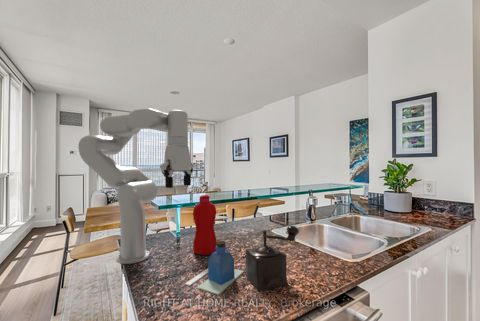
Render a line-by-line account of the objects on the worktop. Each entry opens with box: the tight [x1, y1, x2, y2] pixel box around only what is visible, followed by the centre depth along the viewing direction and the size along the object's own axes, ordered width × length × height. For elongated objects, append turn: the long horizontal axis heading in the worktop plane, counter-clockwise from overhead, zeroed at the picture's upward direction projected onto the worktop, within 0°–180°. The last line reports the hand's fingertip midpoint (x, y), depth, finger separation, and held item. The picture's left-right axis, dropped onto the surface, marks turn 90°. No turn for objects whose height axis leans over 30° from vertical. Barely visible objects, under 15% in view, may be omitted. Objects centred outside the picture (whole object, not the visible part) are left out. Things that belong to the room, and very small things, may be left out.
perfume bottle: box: [207, 240, 235, 285], centre depth 76 cm, size 6×6×12 cm
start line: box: [184, 267, 208, 287], centre depth 80 cm, size 2×16×1 cm, turn 151°
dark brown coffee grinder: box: [245, 225, 300, 292], centre depth 76 cm, size 16×11×18 cm
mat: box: [196, 268, 245, 296], centre depth 76 cm, size 8×16×1 cm, turn 151°
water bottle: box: [192, 194, 218, 256], centre depth 101 cm, size 9×11×25 cm
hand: (178, 186), depth 88 cm, fingers open, 9 cm apart
